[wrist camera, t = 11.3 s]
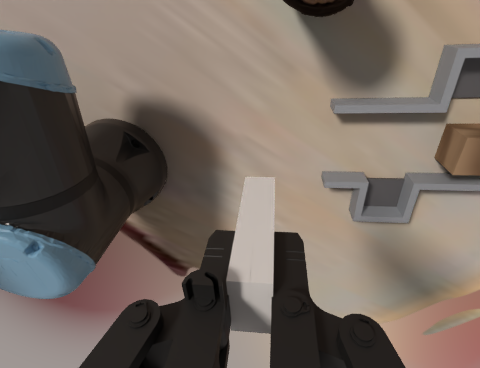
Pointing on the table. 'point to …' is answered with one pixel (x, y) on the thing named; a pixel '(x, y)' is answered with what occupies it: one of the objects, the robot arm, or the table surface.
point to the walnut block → (460, 149)
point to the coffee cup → (319, 6)
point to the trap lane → (443, 89)
